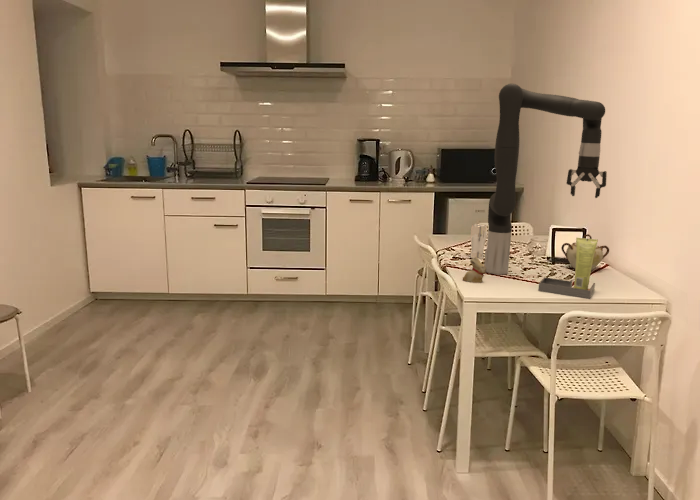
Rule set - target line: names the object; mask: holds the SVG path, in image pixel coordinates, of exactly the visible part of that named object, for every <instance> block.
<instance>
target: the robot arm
mask: <svg viewBox="0 0 700 500" xmlns="http://www.w3.org/2000/svg"><path fill="white" fill-rule="evenodd" d="M498 103H499V122H498V127H497V132H496V137H495V145H494V169H495V174H496V187H495V192H494V193H493V194H492V195H491V196H490V198H489V201H488V215H487V222H488V223H487V224H488V230H487V231H488V232H487V244H486V248H485V253H484V264H483V265H484V266H485V267H486V271H485V273H489V274H494V275H507V274H508V273H509V264H510V253H511V252H510V251H511V241H512V230H513V229H512V228H513V225H512V220H511V219H512V218H511V217H512V214H513V212H514V210H516V209H515V208H516V204H517V200H516V199H517V197H516V196H517V195H516V178H517V173H518V164H519V163H518V162H519V156H520V155H519V152H520V124H519V123H520V115H521V108H523V109H531V110H536V111H537V110H538V111H541V112H546V113H550V114H555V115H558V116H559V115H560V116H565V117H571V118H573V117H575V118H580V119H582V132H581V139H580V140H581V141H580V145H579V150H578V159H577V169H572V168H570V169H568V173H567V178H566V185H568V186H570V195H571V196H572V197H575V195H576V185H577V184H578V183H579V182H580V181H581V182H588V183H591V182H592V184H593V185H595V187H596V188H595V196H594V198H595V199H597V198H599V197H600V195H601V189H602V188H605V187H606V186H607V177H608V176H607V175H608V174H607V171H606V170H604V171H599V166H600V164H599V163H600V159H601V158H600V156H601V141H602V128H601V125H602V120H603V119H602V118H603V117H604V116H605V115H606V107H605V105H604V104H603V103H602V102H600V101H594V100H588V99H579V98H575V97H571V96H566V95H565V96H564V95H561V94H549V93H542V92H534V91H531V90H527V89H524V88H522V87H521V86H520V85H518V84H516V83H508V84H505V85H504V86H503V87H502V88H501V89H500V90H499V93H498ZM575 174H576V176H577V177H576V179H574V181H572V177H573V176H574V175H575ZM598 176H600V177H601V184H600V182H599V180H598V178H597V177H598Z"/></svg>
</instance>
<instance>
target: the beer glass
mask: <svg viewBox="0 0 700 500" xmlns="http://www.w3.org/2000/svg"><path fill="white" fill-rule="evenodd" d="M486 240H487V225H486V224H482V223H472V224H471V229H470V246H471V247H470V248H471V250H470V255H469V258H471V259H473V258H474V257H475V256H476V257H477V258H478V259H479V260H482V259H485V255H484V248H485V244H486Z"/></svg>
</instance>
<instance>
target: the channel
mask: <svg viewBox="0 0 700 500" xmlns="http://www.w3.org/2000/svg"><path fill="white" fill-rule="evenodd" d="M573 283H574V282H573V279H571V280H564V279H560V278H559V279H557V278H551V277H545V276H544V277H543V278H542V279H541V281H540V282H538V292H543V293H544V292H545V293H549V294H556V295H557V294H558V295H561V296H564V295H565V296H569V297H575V298H576V297H577V298H583V299H588V300H589V299H590V300H591V297H592V296H593V293H594V291H595V286H596V283H595V282H593V284H592V285H591V287H590V288H589V289H590V290H585V289H578V288H573Z"/></svg>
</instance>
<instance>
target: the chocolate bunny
mask: <svg viewBox="0 0 700 500" xmlns="http://www.w3.org/2000/svg"><path fill="white" fill-rule="evenodd" d="M469 262H470V263H471V265H472V269H470V270H468V271H466V273H465V274H464V276H462V281H464V282H467V283H473V284H477V283H478V284H479V283H480V284H481V283H483V281H484V280H483V279H484V277H485V275H484V274H485V273H486V272H485V271H486V267H485V266H484V264H483V263H482V262H481V261H480V259H478V258H477V257H476V256H475V257H474V258H471V259H470V260H469Z"/></svg>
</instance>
